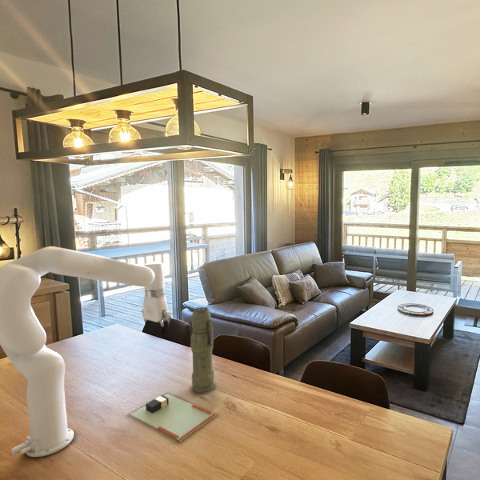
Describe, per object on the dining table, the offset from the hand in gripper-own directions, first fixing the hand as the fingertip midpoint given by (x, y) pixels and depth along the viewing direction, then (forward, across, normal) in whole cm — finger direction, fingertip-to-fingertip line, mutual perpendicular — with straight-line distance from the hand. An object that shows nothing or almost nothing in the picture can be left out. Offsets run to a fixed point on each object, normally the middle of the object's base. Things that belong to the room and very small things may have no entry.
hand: (156, 332), depth 143 cm
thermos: (+25, +15, +10) cm, 31 cm away
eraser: (+25, +11, -9) cm, 28 cm away
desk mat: (+25, +20, -9) cm, 33 cm away
